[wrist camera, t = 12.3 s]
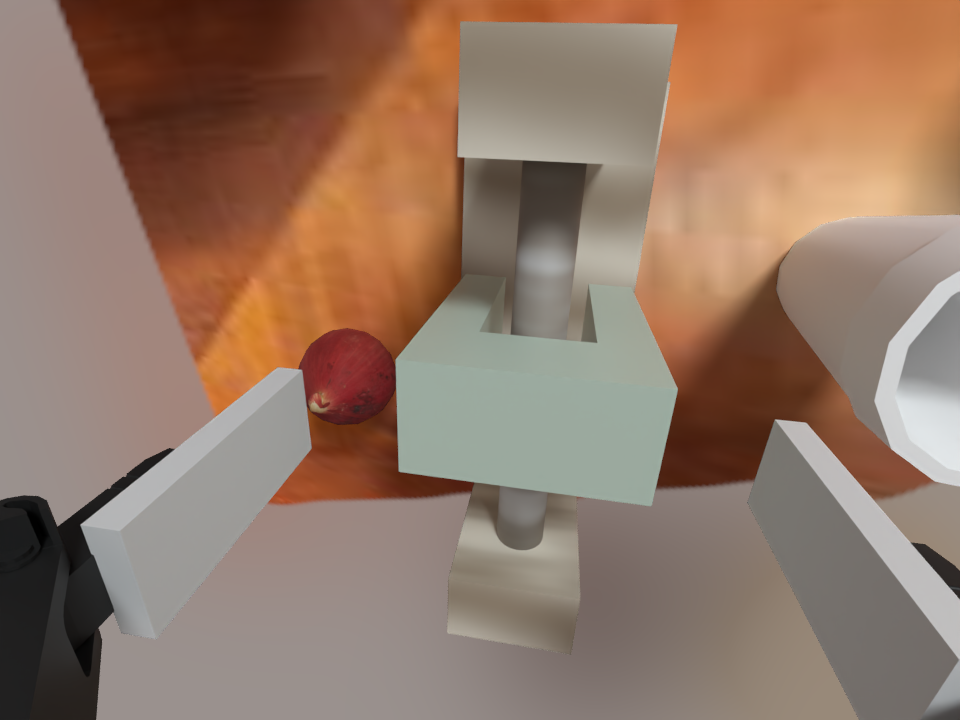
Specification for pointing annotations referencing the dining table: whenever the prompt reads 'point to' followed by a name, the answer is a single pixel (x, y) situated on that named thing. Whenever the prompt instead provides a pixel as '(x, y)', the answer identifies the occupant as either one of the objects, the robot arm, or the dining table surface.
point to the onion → (347, 376)
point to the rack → (548, 264)
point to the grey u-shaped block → (536, 398)
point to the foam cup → (887, 326)
